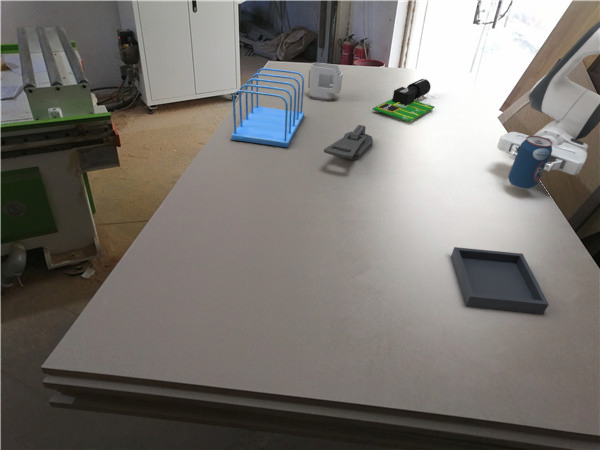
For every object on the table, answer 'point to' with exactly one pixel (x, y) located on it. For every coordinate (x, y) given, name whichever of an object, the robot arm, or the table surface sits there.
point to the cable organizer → (324, 81)
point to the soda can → (530, 162)
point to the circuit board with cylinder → (407, 101)
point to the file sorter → (268, 114)
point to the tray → (497, 281)
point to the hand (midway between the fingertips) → (529, 161)
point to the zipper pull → (351, 144)
